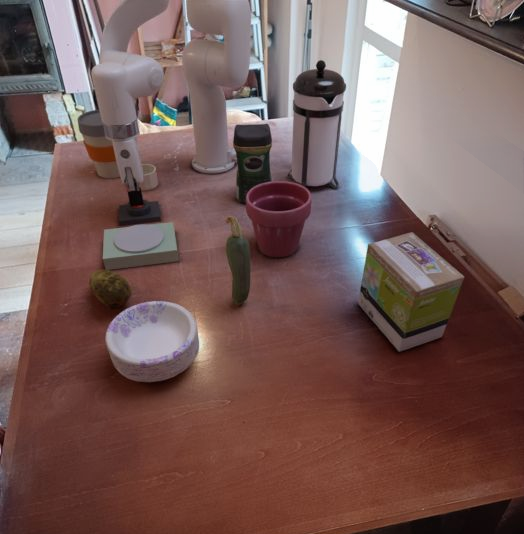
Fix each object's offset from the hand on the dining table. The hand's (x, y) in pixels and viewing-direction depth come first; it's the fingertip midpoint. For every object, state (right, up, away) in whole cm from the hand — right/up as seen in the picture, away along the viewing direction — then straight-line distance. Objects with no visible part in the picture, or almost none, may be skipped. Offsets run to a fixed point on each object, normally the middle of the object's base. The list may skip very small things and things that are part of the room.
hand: (137, 204), depth 118 cm
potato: (+1, -26, -21) cm, 34 cm away
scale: (+3, -13, -8) cm, 16 cm away
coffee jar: (+29, +4, +9) cm, 31 cm away
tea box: (+57, -31, -26) cm, 70 cm away
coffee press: (+44, +11, +15) cm, 48 cm away
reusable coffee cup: (-12, +16, +20) cm, 28 cm away
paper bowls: (+13, -38, -33) cm, 52 cm away
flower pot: (+35, -12, -8) cm, 38 cm away
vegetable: (+27, -27, -22) cm, 44 cm away
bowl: (-1, +9, +14) cm, 17 cm away
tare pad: (0, -2, +2) cm, 3 cm away
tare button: (0, -1, +1) cm, 2 cm away
